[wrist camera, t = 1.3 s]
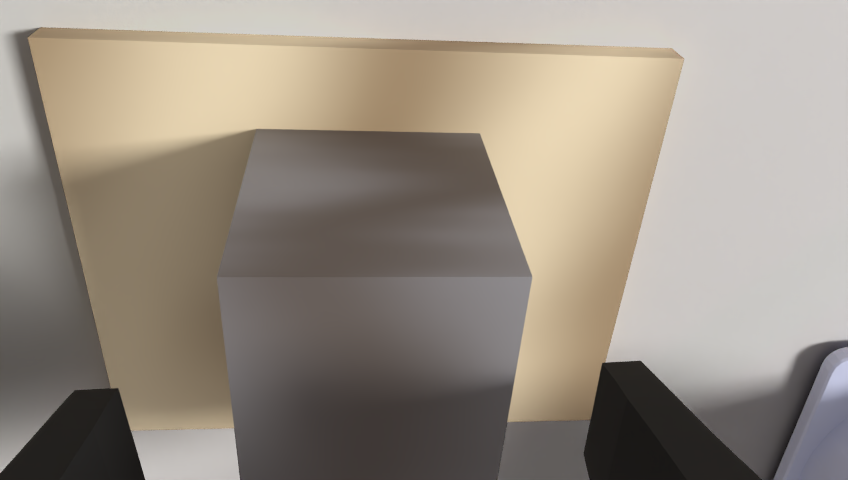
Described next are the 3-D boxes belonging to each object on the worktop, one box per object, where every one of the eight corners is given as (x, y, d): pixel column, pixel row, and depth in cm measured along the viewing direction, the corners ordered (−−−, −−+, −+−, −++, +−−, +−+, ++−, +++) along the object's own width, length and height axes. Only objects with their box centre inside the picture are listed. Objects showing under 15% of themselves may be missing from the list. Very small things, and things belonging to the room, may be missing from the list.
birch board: (663, 41, 13) (826, 177, 9) (579, 390, 18) (656, 596, 14) (49, 20, 12) (-131, 163, 8) (132, 398, 17) (51, 627, 13)
